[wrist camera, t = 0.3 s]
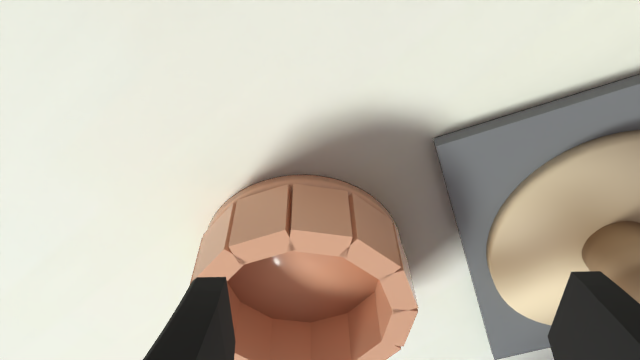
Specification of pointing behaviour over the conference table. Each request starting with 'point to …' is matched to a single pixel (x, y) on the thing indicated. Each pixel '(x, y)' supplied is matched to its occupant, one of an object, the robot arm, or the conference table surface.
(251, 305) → the bowl
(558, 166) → the lid
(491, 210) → the mat
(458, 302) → the conference table surface
